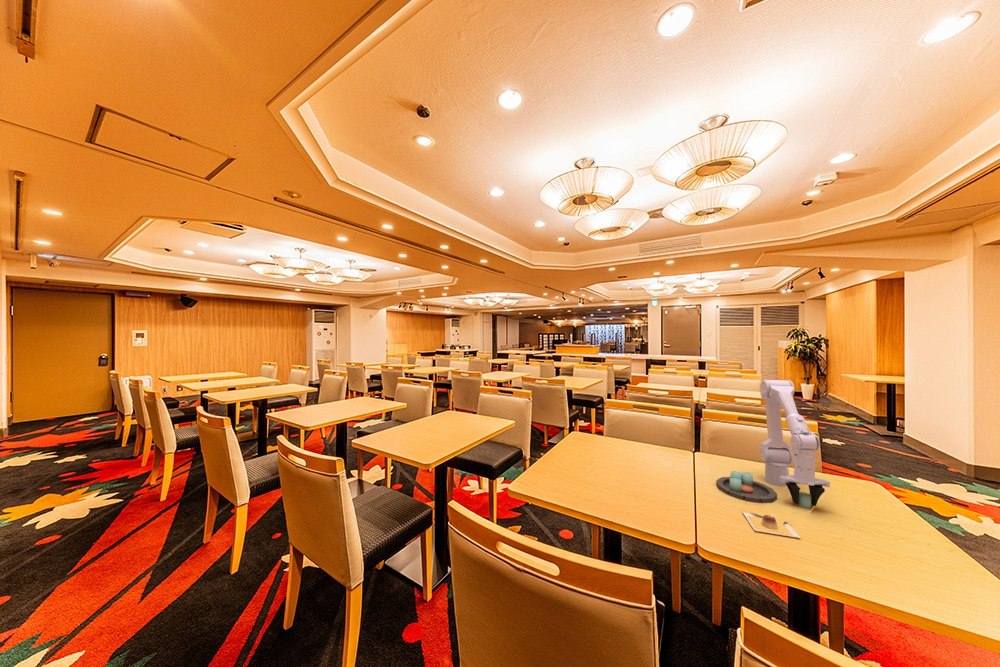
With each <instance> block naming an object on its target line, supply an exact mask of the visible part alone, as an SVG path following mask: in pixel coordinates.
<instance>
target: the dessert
mask: <svg viewBox="0 0 1000 667" xmlns="http://www.w3.org/2000/svg"><path fill="white" fill-rule="evenodd" d="M742 515H744V517H745V518H746V520H747V522H748V523H749V524H750V525H751V527H752V529H753V530H754V531H755V532H757V533H758V532H759V533H765V534H770V535H776V536H777V535H778V536H783V537H790V538H795V539H800V538H801V537H800V535H799V534H798V533H797V532H796V531H795V529H794V528H793V527H792V525H790V524H789V523H788V521H784V522H783V523H782V524H783V526H784V527H785V528H786V529H787V531H789V533H790V534H791V535H789V534H784V533H783V534H782V533H776V532H770V531H764V530H758V528H756V526H755V524H754V523H753V522H752V520H751V519H750V517H752V518H758V519H759V518H760V519H762V520H761V522H760V525H761V526H762V527H764V528H766V529H769V530H775V531H777V530H778V529H779V526H778V523H777V521H776V520H777V519H776V518H775V516H774V514H772V513H771V512H770V513H769V514H764V515H760V514H757V513H752V512H751V513H750V512H745V511H742Z"/></svg>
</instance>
